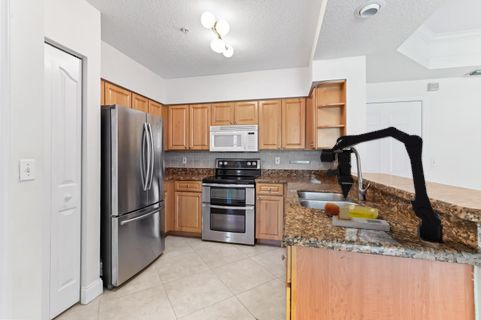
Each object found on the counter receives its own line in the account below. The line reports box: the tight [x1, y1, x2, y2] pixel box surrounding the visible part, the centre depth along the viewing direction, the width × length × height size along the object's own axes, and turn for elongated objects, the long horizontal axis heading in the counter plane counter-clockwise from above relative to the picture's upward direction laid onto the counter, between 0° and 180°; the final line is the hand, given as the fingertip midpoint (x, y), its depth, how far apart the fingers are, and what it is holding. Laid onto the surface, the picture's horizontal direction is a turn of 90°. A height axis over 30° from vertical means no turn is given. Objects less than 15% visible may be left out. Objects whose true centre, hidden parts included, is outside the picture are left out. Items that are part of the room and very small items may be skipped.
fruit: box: [323, 202, 340, 218], centre depth 118 cm, size 8×8×8 cm
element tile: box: [346, 204, 379, 220], centre depth 116 cm, size 15×15×5 cm
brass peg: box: [338, 205, 350, 220], centre depth 102 cm, size 4×4×8 cm
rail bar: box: [332, 215, 391, 232], centre depth 100 cm, size 22×8×3 cm, turn 68°
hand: (344, 196), depth 102 cm, fingers open, 9 cm apart
